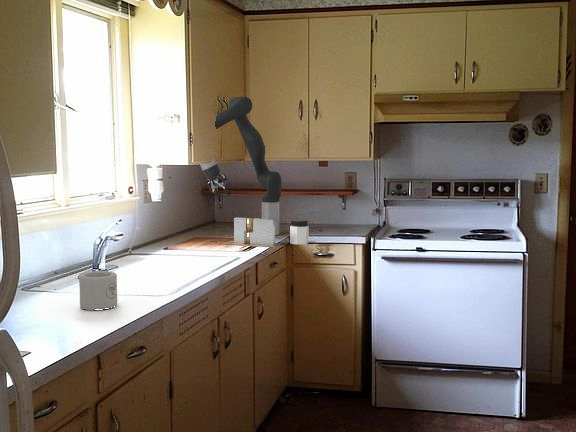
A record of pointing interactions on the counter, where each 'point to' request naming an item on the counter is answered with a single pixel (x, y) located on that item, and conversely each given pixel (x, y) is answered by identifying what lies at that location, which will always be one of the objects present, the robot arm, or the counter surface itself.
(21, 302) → the counter surface
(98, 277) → the mug
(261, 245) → the jig board
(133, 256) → the counter surface
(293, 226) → the jar
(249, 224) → the brushed metal block
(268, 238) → the fixed leaf
